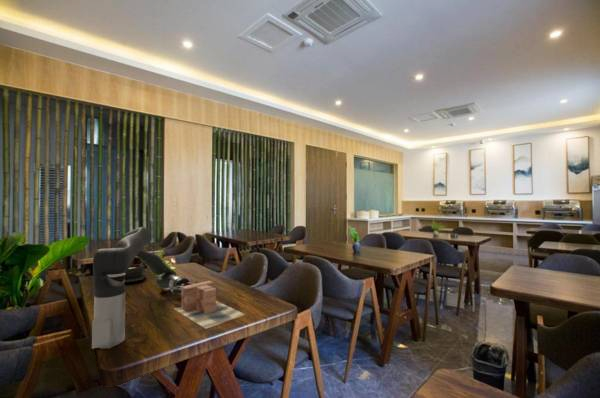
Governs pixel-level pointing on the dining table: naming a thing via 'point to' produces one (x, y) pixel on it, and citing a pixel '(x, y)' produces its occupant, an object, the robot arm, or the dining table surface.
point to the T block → (199, 297)
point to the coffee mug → (118, 277)
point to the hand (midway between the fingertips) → (194, 290)
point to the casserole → (134, 273)
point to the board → (211, 315)
